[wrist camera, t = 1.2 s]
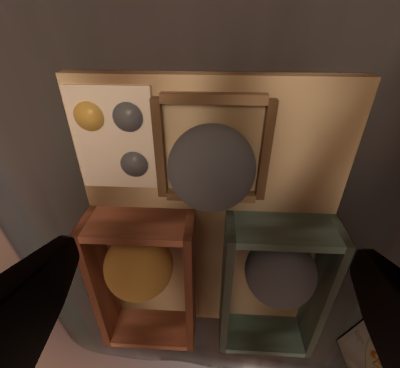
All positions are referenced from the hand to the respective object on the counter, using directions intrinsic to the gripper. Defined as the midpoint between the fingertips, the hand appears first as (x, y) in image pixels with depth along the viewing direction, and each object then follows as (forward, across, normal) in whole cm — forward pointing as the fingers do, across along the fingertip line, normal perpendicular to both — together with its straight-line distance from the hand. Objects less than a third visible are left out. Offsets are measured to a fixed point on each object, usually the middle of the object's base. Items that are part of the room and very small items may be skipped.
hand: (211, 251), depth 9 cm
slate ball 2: (+8, -4, +7) cm, 12 cm away
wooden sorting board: (+9, 0, +6) cm, 11 cm away
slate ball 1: (+8, 0, 0) cm, 8 cm away
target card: (+9, +6, 0) cm, 11 cm away
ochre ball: (+8, +5, +7) cm, 12 cm away
